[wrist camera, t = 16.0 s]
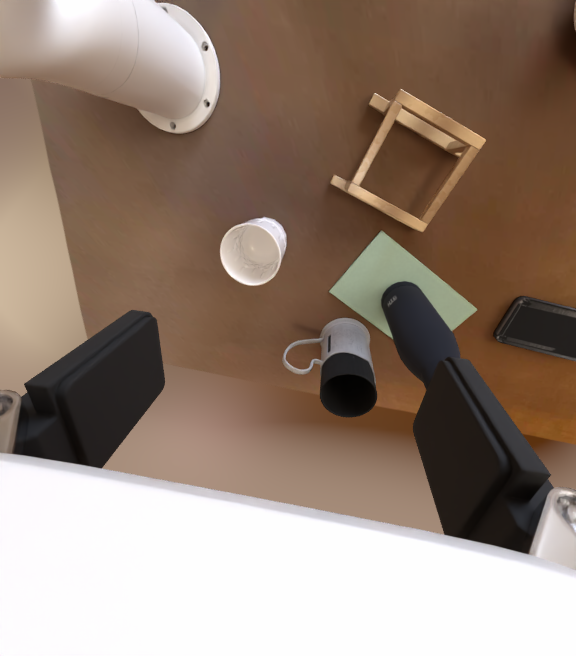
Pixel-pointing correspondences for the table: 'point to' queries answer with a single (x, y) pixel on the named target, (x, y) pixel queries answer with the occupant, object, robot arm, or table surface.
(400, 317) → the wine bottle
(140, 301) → the table surface
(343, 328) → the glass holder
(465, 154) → the bottle stand
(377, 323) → the mat
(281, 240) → the white cup
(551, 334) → the phone
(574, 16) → the lidded bowl
